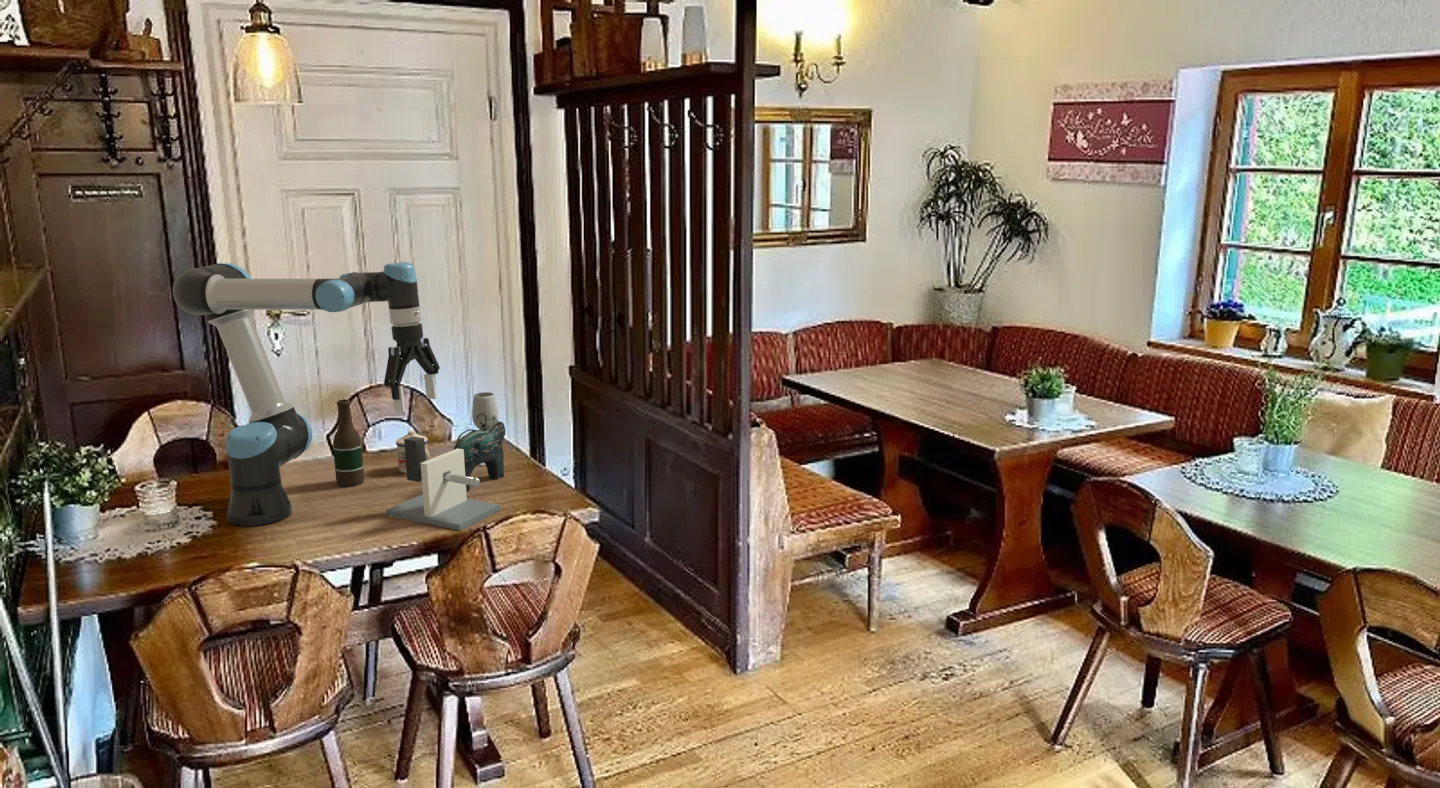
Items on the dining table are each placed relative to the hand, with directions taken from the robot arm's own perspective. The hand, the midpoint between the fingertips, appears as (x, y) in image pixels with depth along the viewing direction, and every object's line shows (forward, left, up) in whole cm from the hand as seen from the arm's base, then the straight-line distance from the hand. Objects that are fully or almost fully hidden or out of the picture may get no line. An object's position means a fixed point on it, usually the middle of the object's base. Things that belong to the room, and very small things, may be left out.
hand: (416, 405), depth 262 cm
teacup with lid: (+22, +22, -27) cm, 41 cm away
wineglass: (+37, +8, -27) cm, 47 cm away
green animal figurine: (+20, -3, -27) cm, 34 cm away
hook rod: (-3, -10, -19) cm, 22 cm away
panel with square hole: (-3, -10, -27) cm, 29 cm away
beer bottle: (+5, +31, -27) cm, 41 cm away
